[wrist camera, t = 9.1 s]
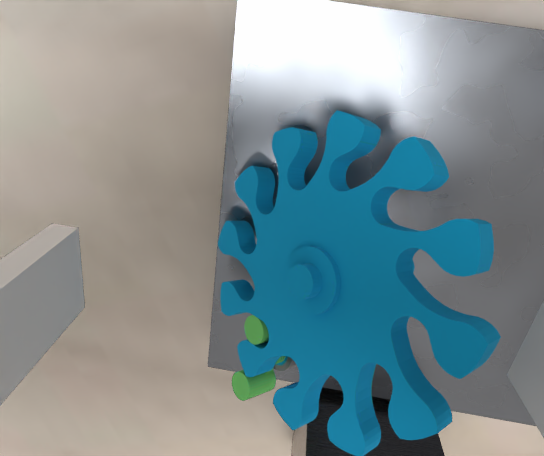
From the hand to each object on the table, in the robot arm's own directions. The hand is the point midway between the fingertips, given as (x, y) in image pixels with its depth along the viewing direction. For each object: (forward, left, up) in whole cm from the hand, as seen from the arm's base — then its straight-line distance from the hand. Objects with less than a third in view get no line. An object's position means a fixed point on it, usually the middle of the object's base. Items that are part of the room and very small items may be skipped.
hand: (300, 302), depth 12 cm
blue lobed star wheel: (0, 0, -5) cm, 5 cm away
